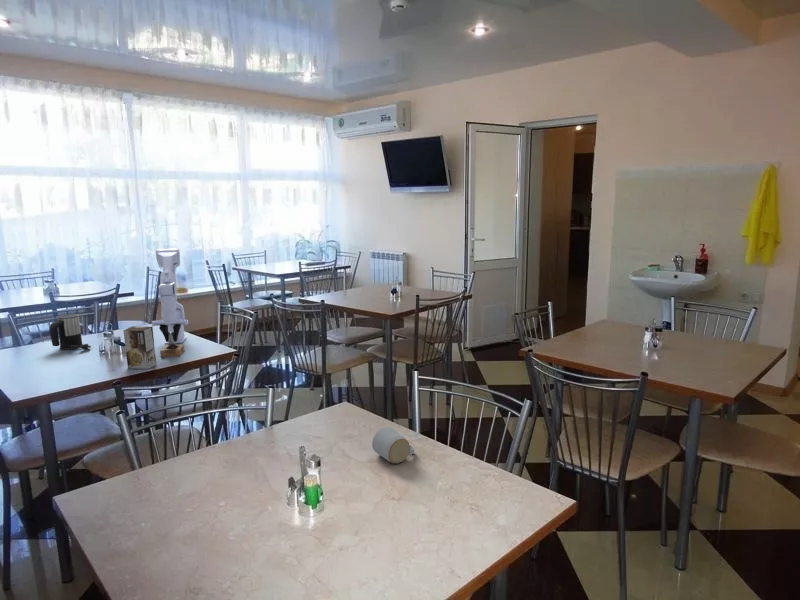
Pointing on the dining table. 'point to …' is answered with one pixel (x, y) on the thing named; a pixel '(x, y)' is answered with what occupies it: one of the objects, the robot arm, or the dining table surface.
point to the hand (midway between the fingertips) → (171, 341)
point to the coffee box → (139, 347)
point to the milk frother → (67, 332)
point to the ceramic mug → (391, 445)
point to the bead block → (172, 351)
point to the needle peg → (171, 340)
